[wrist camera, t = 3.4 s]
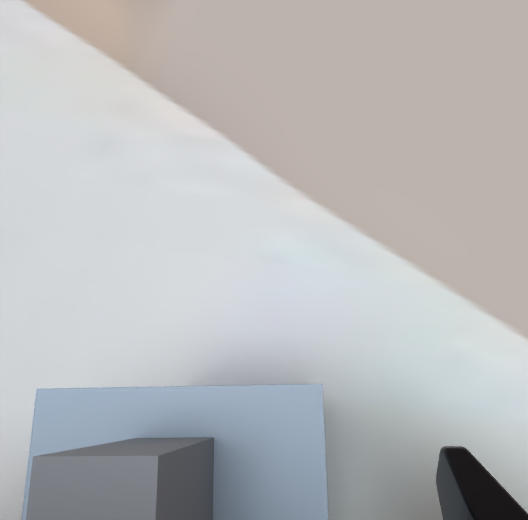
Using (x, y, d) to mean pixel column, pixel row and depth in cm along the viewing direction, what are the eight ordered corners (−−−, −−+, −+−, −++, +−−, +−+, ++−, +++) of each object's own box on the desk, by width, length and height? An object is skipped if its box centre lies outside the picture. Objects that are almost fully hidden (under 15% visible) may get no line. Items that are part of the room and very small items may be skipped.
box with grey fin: (318, 547, 15) (369, 1041, 3) (174, 547, 16) (-241, 996, 4) (312, 397, 17) (333, 369, 5) (179, 398, 17) (-117, 377, 5)
